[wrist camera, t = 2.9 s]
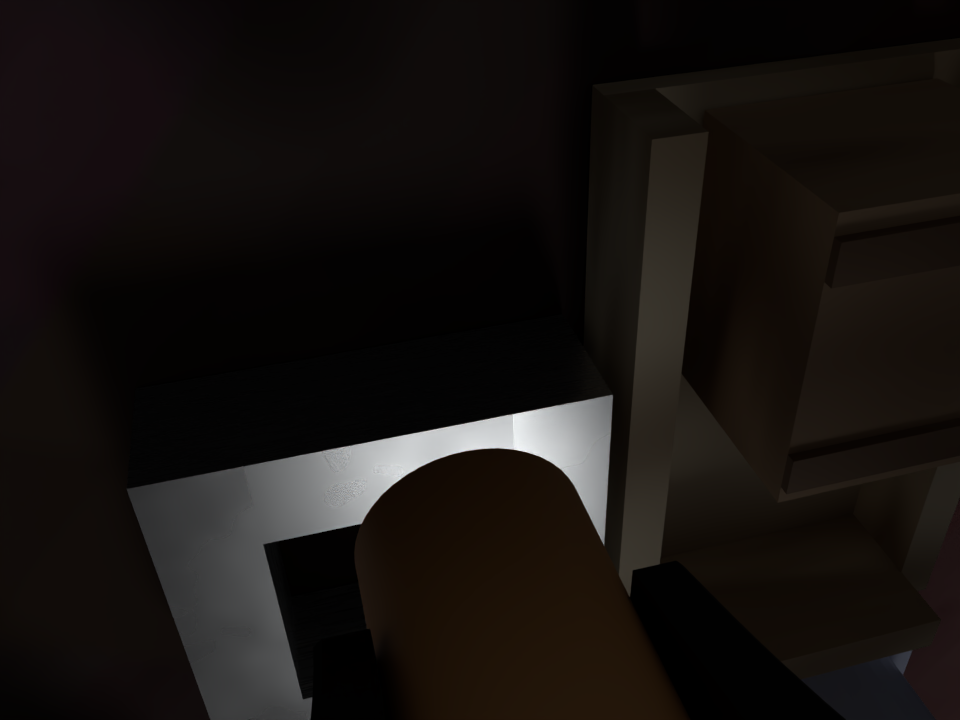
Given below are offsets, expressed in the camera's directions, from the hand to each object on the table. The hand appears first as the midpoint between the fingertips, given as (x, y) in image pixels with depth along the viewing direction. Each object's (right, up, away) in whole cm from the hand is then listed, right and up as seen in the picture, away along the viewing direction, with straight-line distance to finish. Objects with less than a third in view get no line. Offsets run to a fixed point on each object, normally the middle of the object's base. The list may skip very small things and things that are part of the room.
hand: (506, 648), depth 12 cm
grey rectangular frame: (-3, -1, +11) cm, 12 cm away
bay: (+6, +4, +10) cm, 13 cm away
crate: (+6, +6, +8) cm, 12 cm away
